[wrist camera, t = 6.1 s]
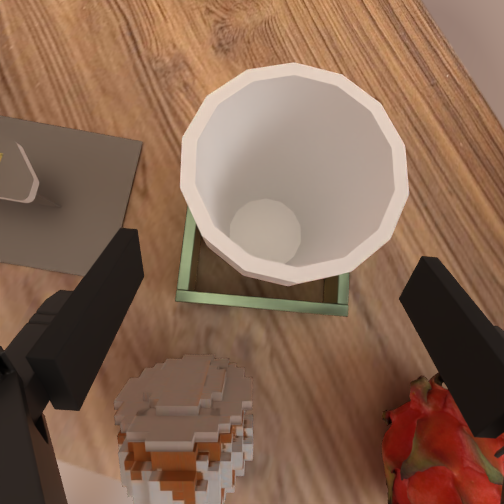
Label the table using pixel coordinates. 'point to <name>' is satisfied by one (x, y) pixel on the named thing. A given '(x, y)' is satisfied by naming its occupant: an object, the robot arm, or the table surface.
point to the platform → (61, 194)
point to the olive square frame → (332, 300)
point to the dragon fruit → (438, 452)
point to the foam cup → (293, 173)
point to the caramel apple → (184, 431)
